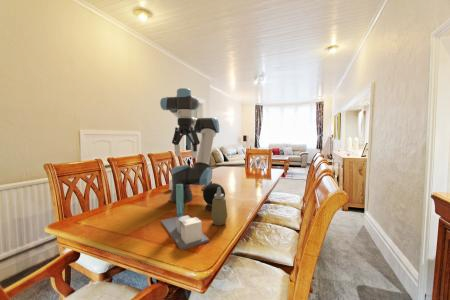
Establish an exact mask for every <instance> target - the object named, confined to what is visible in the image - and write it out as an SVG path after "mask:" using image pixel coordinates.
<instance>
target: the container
mask: <svg viewBox="0 0 450 300" xmlns="http://www.w3.org/2000/svg"><path fill="white" fill-rule="evenodd" d="M168 184H169V185H168V186H169V190H170V191H172V179H170V180H168Z"/></svg>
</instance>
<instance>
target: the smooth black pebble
mask: <svg viewBox="0 0 450 300" xmlns="http://www.w3.org/2000/svg"><path fill="white" fill-rule="evenodd" d="M218 187H220V189H221V194H224V199H225V198H226V191H225V189H224V187H223V186H222V185H221V184H219V183H217V182H212V184H209V185H208V186H206V187H205V189H204V191H203V190H202V191H203V192H202V198H203V200H204V203H206V204H205V206H204V210H205V211H207V212H211V213H212V201H213V199H214V195H215V194H216V193H217V188H218Z"/></svg>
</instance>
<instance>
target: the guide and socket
mask: <svg viewBox="0 0 450 300" xmlns="http://www.w3.org/2000/svg"><path fill="white" fill-rule="evenodd" d="M160 223H161V224H162V226H163V227H164V228H165V230H166V231H167V233H168V235H170V237H171V239H172V240H173V241H174V243H175V244H176V245H177V247H178V248H179V249H180V251H182V250H186V249H189V248H193V247H196V246H200V245H202V244H206V243H209V242H210V238H209V237H208V236H207V235H205V234H204V233H203V227H202V226H203V225H202V224H203V223H202V220H201V219H199V218H198V217H197V216H194V217H190V215H188V214H187V215H184V216H182V217H178V218H177V216H174V217H170V218H165V219H162V220H160Z"/></svg>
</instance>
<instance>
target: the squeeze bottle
mask: <svg viewBox="0 0 450 300" xmlns="http://www.w3.org/2000/svg"><path fill="white" fill-rule="evenodd" d="M226 201H227V199H225V198H224V194H221V189H220V187H218V188H217V193H216V194H215V195H214V199H213V201H212V212H211V220H212V223H213V225H215V226H224V225H225V224H226V222H227V219H228V209H227V202H226Z"/></svg>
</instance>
